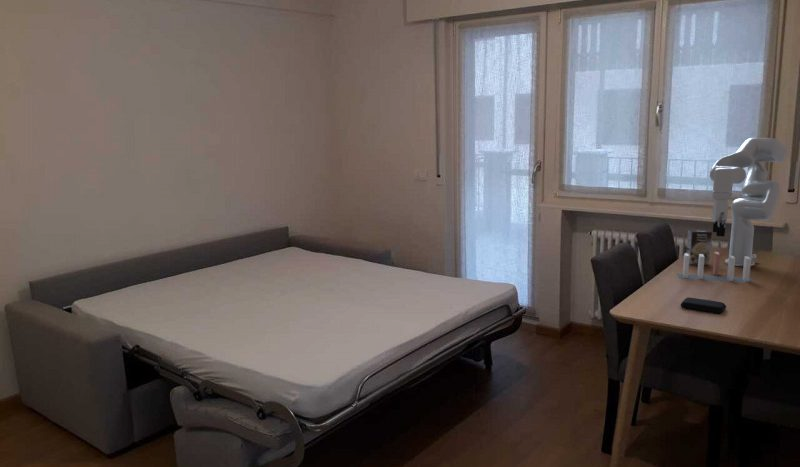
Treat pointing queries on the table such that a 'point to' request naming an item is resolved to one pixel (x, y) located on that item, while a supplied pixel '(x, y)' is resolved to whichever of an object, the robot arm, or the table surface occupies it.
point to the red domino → (716, 263)
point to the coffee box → (698, 245)
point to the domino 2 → (700, 266)
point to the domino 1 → (685, 265)
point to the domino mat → (715, 278)
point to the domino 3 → (731, 268)
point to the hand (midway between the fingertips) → (718, 234)
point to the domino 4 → (746, 268)
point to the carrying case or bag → (703, 305)
